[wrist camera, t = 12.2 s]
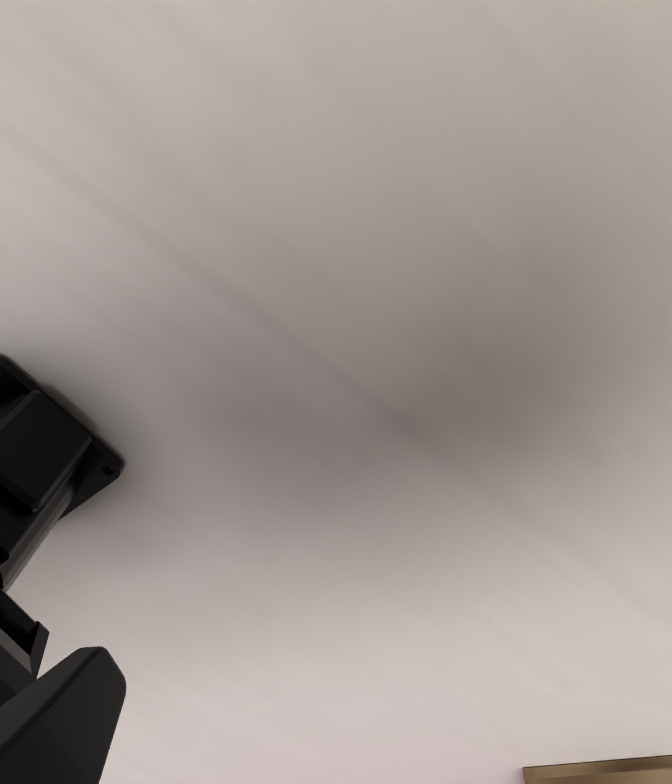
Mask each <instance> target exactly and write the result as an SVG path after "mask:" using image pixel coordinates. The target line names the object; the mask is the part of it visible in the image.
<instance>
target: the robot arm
mask: <svg viewBox="0 0 672 784" xmlns="http://www.w3.org/2000/svg"><path fill="white" fill-rule="evenodd" d="M107 465H109V466H111V467H112V468H113V469H111V468H109V467H108V466H107ZM123 470H124V464H123V461H122V460H121V459H120V458H119V457H118V456H117V455H115V454H114V453H113V452H112V451H111V450H110V449H109V448H107V447H106V446H105V445H104V444H103V443H102V442H101V441H99V440H98V439H97V438H96V437H95V436H94V435H93V434H91V433H90V432H89V431H88V430H87V429H86V428H85V427H83V426H82V425H81V424H80V423H79V422H78V421H76V420H75V419H74V418H73V417H72V416H71V415H70V414H68V413H67V412H66V411H65V410H64V409H63V408H62V407H60V406H59V405H58V404H57V403H56V402H55V401H54V400H52V399H51V398H50V397H49V396H48V395H47V394H46V393H44V392H43V391H42V390H41V389H40V388H39V387H38V386H36V385H35V384H34V383H33V382H32V381H31V380H30V379H28V378H27V377H26V376H25V375H24V374H23V373H21V372H20V371H19V370H18V369H17V368H16V367H15V366H13V365H12V364H11V363H10V362H9V361H8V360H6V359H5V358H3V357H1V356H0V784H99V781H100V778H101V775H102V772H103V768H104V765H105V762H106V758H107V755H108V752H109V749H110V745H111V742H112V739H113V735H114V732H115V729H116V726H117V722H118V719H119V716H120V712H121V709H122V706H123V702H124V699H125V695H126V681H125V677H124V675H123V674H122V672H121V670H120V669H119V667H118V666H117V664H116V663H115V661H114V659H113V658H112V656H111V655H110V653H109V652H108V650H107V649H106V648H104V647H100V646H97V647H84V648H79V649H78V650H76V651H74V652H73V653H72V654H70V655H69V656H68V657H66V658H65V659H64V660H62V661H61V662H60V663H58V664H57V665H56V666H54V667H53V668H52V669H50V670H49V671H48V672H46V673H45V674H44V675H42V676H41V677H40V678H38V679H37V675H38V672H39V668H40V664H41V661H42V657H43V654H44V650H45V647H46V643H47V639H48V636H49V631H48V630H47V629H46V628H45V627H44V626H43V625H42V624H41V623H40V622H39V621H36V622H35V621H34V620H33V619H32V618H31V617H30V616H29V615H28V614H27V613H26V612H25V611H24V610H23V609H22V608H21V607H20V606H19V605H18V604H17V603H16V602H15V601H14V600H13V599H12V598H11V597H10V596H9V595H8V594H7V591H8V590H9V588H10V587H11V586H12V584H13V583H14V581H15V580H16V578H17V577H18V576H19V574H20V573H21V571H22V570H23V569H24V567H25V566H26V564H27V563H28V561H29V560H30V559H31V557H32V556H33V554H34V553H35V552H36V550H37V549H38V547H39V546H40V544H41V543H42V542H43V540H44V539H45V537H46V536H47V535H48V533H49V532H50V530H51V529H52V527H53V526H54V525H55V523H56V522H57V521H58V520H60V519H61V518H62V517H64V516H65V515H67V514H68V513H69V512H71V511H72V510H74V509H75V508H76V507H78V506H79V505H81V504H82V503H83V502H85V501H86V500H88V499H89V498H90V497H92V496H93V495H95V494H96V493H97V492H99V491H100V490H102V489H103V488H104V487H106V486H107V485H109V484H110V483H112V482H113V481H114V480H116V479H117V478H118V477H119V476H120V474H121V473H122V471H123ZM36 679H37V680H36Z"/></svg>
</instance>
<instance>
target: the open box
mask: <svg viewBox="0 0 672 784" xmlns="http://www.w3.org/2000/svg"><path fill="white" fill-rule="evenodd" d="M523 773H524V779H525V784H672V756H662V757H650V758H638V759H626V760H614V761H602V762H590V763H578V764H566V765H554V766H542V767H531V768H523Z"/></svg>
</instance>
